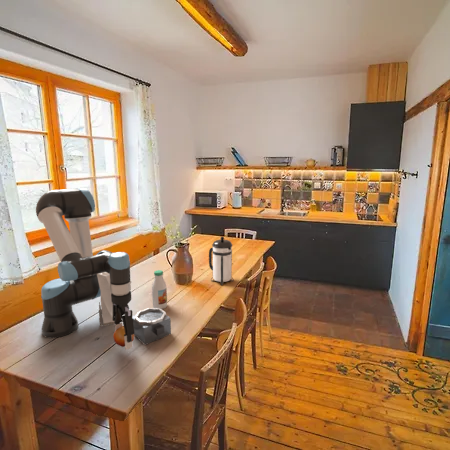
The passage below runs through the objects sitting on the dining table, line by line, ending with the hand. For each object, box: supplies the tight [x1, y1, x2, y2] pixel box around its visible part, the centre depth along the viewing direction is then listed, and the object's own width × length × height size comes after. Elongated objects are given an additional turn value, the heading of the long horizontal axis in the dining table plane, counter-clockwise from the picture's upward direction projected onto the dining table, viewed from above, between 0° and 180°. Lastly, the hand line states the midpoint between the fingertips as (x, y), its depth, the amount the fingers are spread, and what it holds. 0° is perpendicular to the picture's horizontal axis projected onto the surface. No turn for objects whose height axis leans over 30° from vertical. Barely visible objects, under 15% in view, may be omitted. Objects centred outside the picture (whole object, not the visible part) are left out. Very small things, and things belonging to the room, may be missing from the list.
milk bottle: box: [151, 269, 168, 310], centre depth 168 cm, size 8×8×20 cm
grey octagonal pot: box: [132, 307, 172, 345], centre depth 142 cm, size 13×15×9 cm
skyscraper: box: [97, 272, 116, 327], centre depth 151 cm, size 8×8×28 cm
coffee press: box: [208, 236, 234, 286], centre depth 203 cm, size 17×16×30 cm
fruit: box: [113, 325, 135, 348], centre depth 128 cm, size 8×8×8 cm
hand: (124, 342), depth 128 cm, fingers closed on fruit, 8 cm apart
